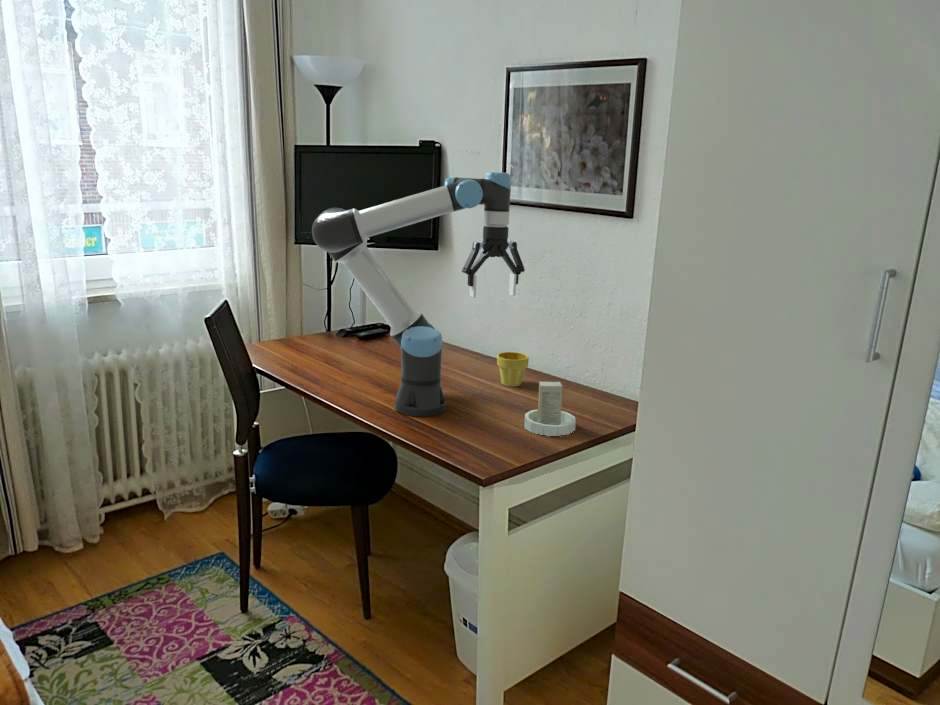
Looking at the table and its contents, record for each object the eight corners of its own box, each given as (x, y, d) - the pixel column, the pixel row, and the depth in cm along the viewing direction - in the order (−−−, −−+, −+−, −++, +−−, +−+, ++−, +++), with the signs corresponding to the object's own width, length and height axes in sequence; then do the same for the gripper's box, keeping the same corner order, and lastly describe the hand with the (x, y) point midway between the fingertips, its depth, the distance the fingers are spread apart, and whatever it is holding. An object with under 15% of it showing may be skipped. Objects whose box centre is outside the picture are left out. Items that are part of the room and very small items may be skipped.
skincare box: (558, 422, 209) (561, 381, 205) (560, 428, 204) (563, 386, 201) (536, 422, 208) (538, 380, 205) (537, 427, 204) (540, 385, 201)
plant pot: (524, 389, 239) (526, 360, 237) (493, 386, 241) (494, 358, 239) (528, 380, 249) (530, 353, 247) (498, 378, 251) (500, 350, 249)
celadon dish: (540, 439, 197) (541, 428, 196) (515, 422, 209) (515, 412, 209) (584, 432, 203) (585, 422, 203) (557, 416, 215) (557, 406, 215)
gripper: (526, 224, 228) (521, 292, 233) (452, 224, 217) (450, 295, 223) (538, 226, 221) (534, 296, 227) (463, 226, 211) (460, 299, 216)
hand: (492, 295), depth 225 cm, fingers open, 13 cm apart
